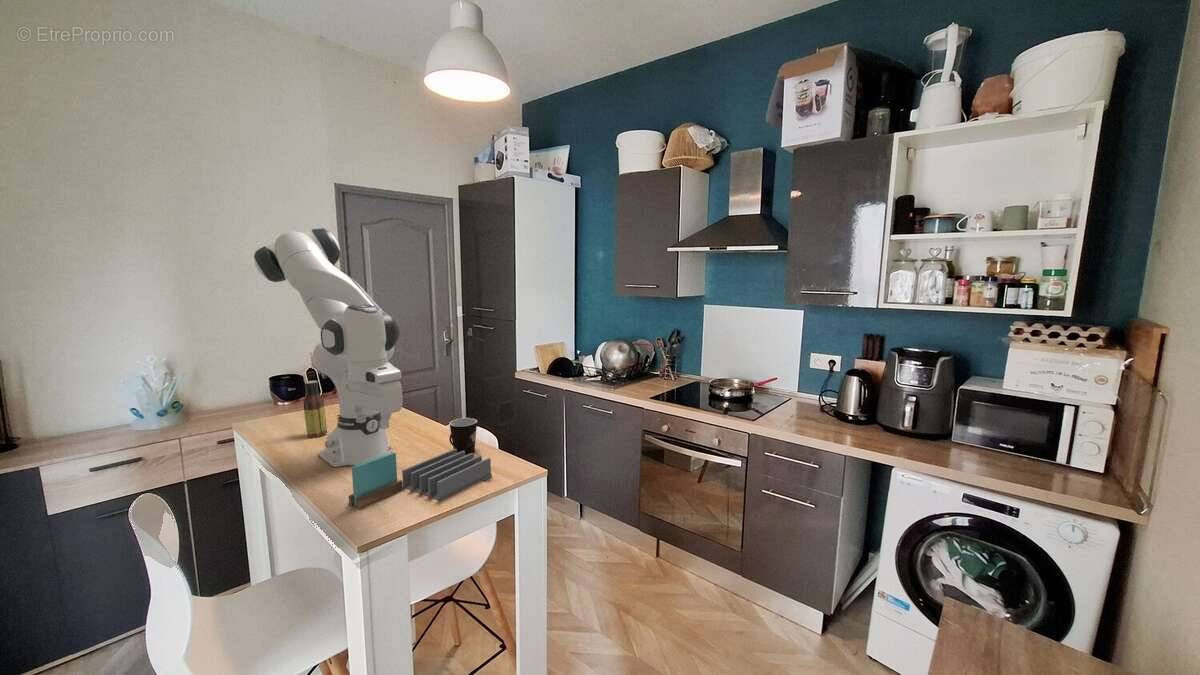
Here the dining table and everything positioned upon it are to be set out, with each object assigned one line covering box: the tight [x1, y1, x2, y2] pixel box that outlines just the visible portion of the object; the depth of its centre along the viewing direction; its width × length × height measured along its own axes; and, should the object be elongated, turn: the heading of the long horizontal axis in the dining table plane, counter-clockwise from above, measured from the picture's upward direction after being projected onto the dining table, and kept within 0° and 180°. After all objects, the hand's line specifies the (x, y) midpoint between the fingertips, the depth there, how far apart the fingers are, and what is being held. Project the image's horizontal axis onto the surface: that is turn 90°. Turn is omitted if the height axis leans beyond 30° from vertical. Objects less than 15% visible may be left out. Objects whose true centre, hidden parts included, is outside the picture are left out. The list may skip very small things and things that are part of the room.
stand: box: [347, 479, 406, 511], centre depth 115 cm, size 6×12×3 cm, turn 149°
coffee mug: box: [449, 417, 478, 456], centre depth 146 cm, size 12×9×10 cm
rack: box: [401, 448, 493, 502], centre depth 125 cm, size 15×18×6 cm
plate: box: [351, 451, 398, 506], centre depth 115 cm, size 1×11×10 cm, turn 149°
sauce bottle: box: [303, 380, 328, 438], centre depth 161 cm, size 7×6×20 cm
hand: (372, 425), depth 113 cm, fingers open, 8 cm apart
